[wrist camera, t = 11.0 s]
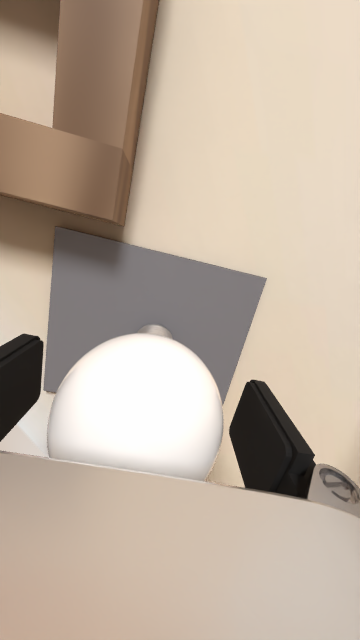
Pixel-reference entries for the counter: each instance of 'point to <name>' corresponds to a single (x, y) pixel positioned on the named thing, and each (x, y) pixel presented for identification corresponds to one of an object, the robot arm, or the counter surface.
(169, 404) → the lightbulb
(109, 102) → the socket collar
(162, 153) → the counter surface
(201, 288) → the mat
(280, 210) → the counter surface
